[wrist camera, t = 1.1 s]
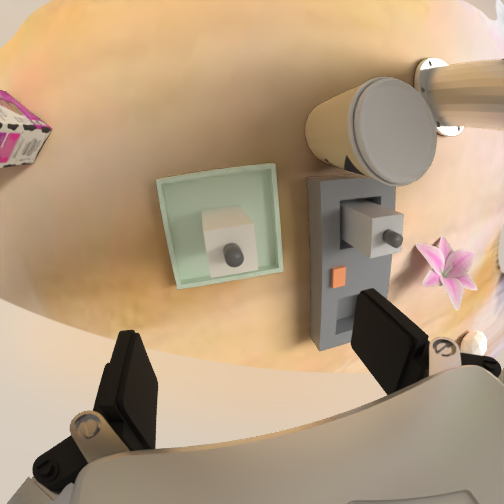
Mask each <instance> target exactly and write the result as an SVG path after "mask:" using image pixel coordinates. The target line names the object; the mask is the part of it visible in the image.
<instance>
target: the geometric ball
mask: <svg viewBox="0 0 504 504" xmlns="http://www.w3.org/2000/svg"><path fill="white" fill-rule="evenodd" d="M486 349H487V339H486V337H485V336H484V334H483V332H480V331H476V330H474V331H471V332H469V333H467V334H466V335H465V336H464V338H463V339H462V341H461V346H460V352H461V353H468V354H474V355H481V356H483V354H484V353H485V351H486Z"/></svg>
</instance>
